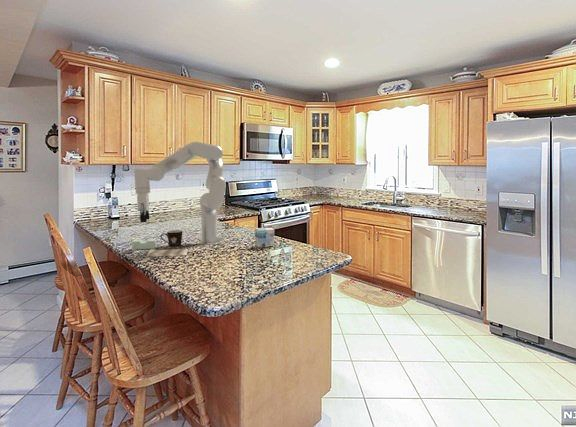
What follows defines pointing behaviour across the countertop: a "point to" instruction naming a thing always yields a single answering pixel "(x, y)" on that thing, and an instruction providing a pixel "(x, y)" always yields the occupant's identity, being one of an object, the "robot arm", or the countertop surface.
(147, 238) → the t key
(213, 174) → the robot arm
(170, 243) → the coffee mug
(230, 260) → the countertop surface
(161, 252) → the base plate
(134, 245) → the slotted block
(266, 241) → the light bulb box
